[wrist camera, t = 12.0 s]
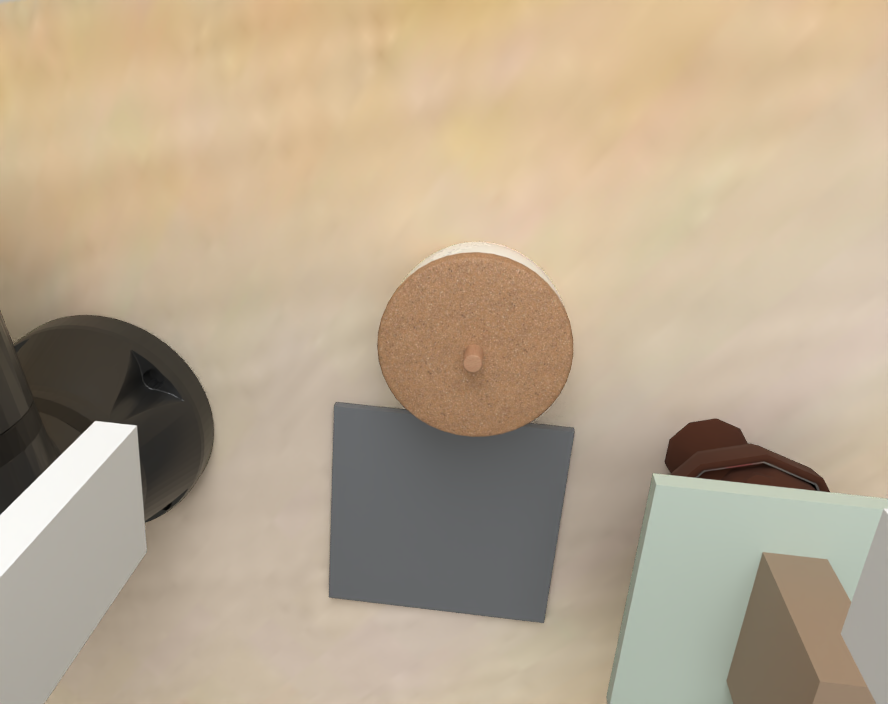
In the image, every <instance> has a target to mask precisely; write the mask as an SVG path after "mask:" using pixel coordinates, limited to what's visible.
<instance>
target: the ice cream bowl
mask: <svg viewBox="0 0 888 704" xmlns="http://www.w3.org/2000/svg"><path fill="white" fill-rule="evenodd" d="M665 463H666V465H667V467H668V469H669V470H670V472H671V474H669V475H674V476H683V477H692V478H702V479H711V480H720V481H729V482H739V483H748V484H757V485H766V486H776V487H785V488H794V489H803V490H812V491H822V492H830V491H829V489H828V487H827V485H826V483H825V481H824V479H823V478H822V477H821V476H819V475H818V474H817V473H816V472H815V471H813V470H812V469H811V468H809V467H807V466H804V465H802V464H800V463H797V462H795V461H793V460H790V459H788V458H786V457H783V456H781V455H779V454H776V453H774V452H772V451H769V450H767V449H765V448H763V447H760V446H758V445H754V444H748V443H747V441H746V439H745V438H744V436H743V434H742V432H741V430H740V429H739V428H737V427H735V426H732V425H730V424H728V423H725V422H723V421H721V420H719V419H711V420H704V421H698V422H692V423H689V424H687V425H686V426H685V427H684V428H683V429H682V430H680V431H679V432H678V433H677V434H676V435H675V436H673V437H672V438H671V439H670V441H669V445H668V450H667V454H666V458H665Z"/></svg>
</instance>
